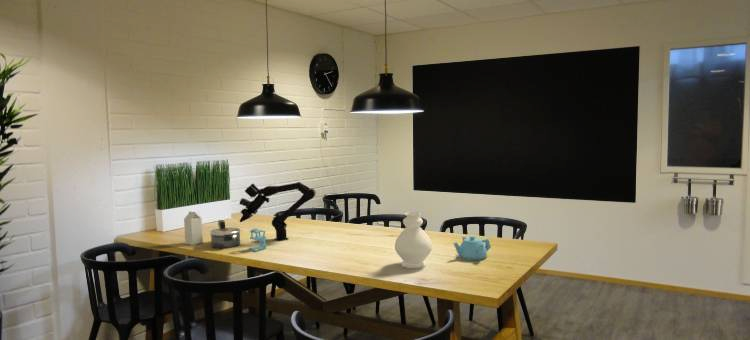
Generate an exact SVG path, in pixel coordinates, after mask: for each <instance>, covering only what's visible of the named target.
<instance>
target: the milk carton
mask: <svg viewBox="0 0 750 340" xmlns="http://www.w3.org/2000/svg"><path fill="white" fill-rule="evenodd" d="M202 223H203V222H202V217H201V216H199V214H198V213H197V212H196V211H188V213H187V215H186V216H185V217H184V220H183V224H184V239H185V244H186V245H189V246H194V245H199V244H203V243H204V241H203V224H202Z"/></svg>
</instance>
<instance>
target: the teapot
mask: <svg viewBox="0 0 750 340" xmlns="http://www.w3.org/2000/svg"><path fill="white" fill-rule="evenodd" d="M453 245H454V248H455V250H456V253H457V254H458V256H459V257H460V258H461V259H462V260H466V261H481V260H483V259H485V258H486V257H487V256H488V255H487V252H488V251H490V249H491V244H490V240H489V238H488V237H485V238H482V239H481V238H478V237H476V236H475V235H469V237H467V236H462V242H461V243H460V245H459V244H458V242H454V243H453Z"/></svg>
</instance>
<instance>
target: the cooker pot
mask: <svg viewBox="0 0 750 340" xmlns="http://www.w3.org/2000/svg"><path fill="white" fill-rule="evenodd" d="M240 233H241V232H240ZM240 233H238V234H235V235H229V236H212V235H210V239H211V240H210V241H211V243H210V244H211V248H212V249H217V250H219V249H220V250H222V249H223V250H224V249H232V248H237V247H240V246H241V234H240Z"/></svg>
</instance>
